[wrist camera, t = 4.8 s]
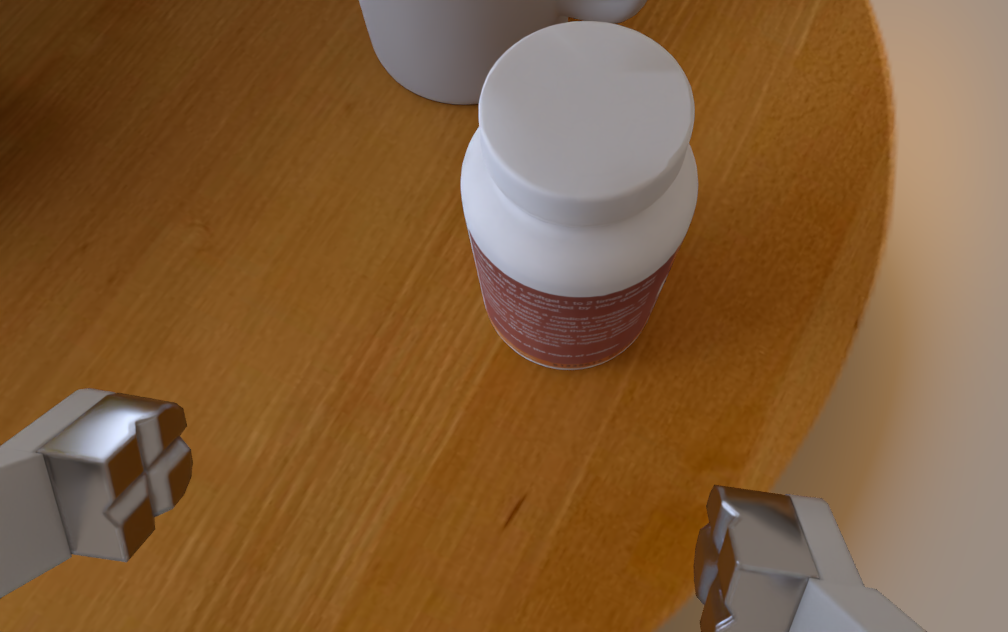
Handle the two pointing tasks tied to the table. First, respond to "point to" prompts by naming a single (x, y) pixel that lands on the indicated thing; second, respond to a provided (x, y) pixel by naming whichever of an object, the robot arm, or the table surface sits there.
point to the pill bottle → (579, 189)
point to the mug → (466, 37)
